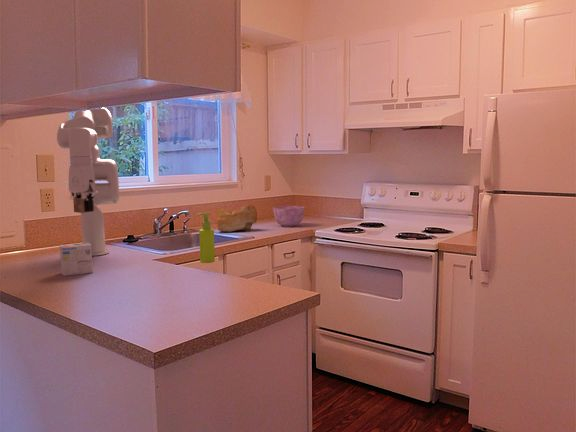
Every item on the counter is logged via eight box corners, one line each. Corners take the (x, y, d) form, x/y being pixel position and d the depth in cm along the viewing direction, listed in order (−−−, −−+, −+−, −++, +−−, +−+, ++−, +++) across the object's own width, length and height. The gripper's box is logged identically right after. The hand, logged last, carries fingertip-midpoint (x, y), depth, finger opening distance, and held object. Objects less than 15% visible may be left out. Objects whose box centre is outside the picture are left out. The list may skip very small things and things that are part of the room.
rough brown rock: (254, 229, 312) (253, 204, 312) (258, 230, 296) (257, 204, 296) (216, 232, 308) (214, 207, 307) (218, 233, 292) (216, 207, 291)
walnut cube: (74, 212, 191) (73, 198, 191) (85, 210, 196) (85, 197, 195) (82, 212, 189) (81, 199, 188) (94, 211, 193) (93, 198, 192)
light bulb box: (90, 269, 199) (89, 241, 198) (93, 272, 193) (92, 244, 192) (60, 273, 194) (58, 244, 193) (62, 276, 188) (60, 247, 187)
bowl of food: (266, 226, 316) (265, 208, 315) (285, 223, 333) (285, 205, 331) (293, 229, 305) (292, 209, 304) (311, 225, 321) (311, 206, 320)
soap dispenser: (196, 261, 212) (195, 212, 210) (213, 259, 215) (212, 211, 212) (198, 263, 207) (197, 214, 205) (215, 262, 209) (214, 213, 207)
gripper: (57, 162, 192) (61, 210, 194) (87, 161, 182) (89, 213, 184) (75, 161, 198) (78, 209, 200) (104, 161, 189) (107, 211, 191)
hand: (84, 210), depth 192 cm, fingers closed on walnut cube, 5 cm apart
